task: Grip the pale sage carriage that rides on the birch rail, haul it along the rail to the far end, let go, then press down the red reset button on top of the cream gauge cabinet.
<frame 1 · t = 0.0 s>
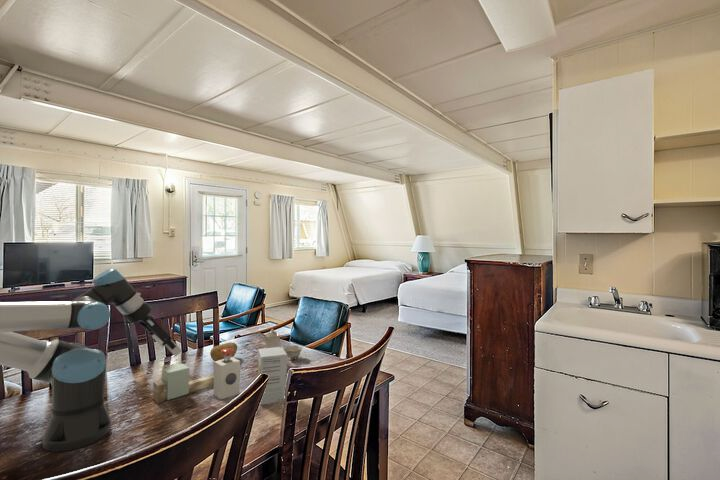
hand: (172, 349, 128), 15 cm above the table, tool tilted 35°, fingers open, 13 cm apart
carriage: (175, 381, 124), point 5 cm above the table, slide at 0.0 cm
supplement box: (271, 398, 124), on the table
potato: (224, 361, 159), on the table
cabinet: (226, 393, 126), on the table
chinaware: (277, 365, 156), on the table
rail: (193, 389, 129), on the table
reset button: (227, 355, 126), point 14 cm above the table, slide at 0.0 cm
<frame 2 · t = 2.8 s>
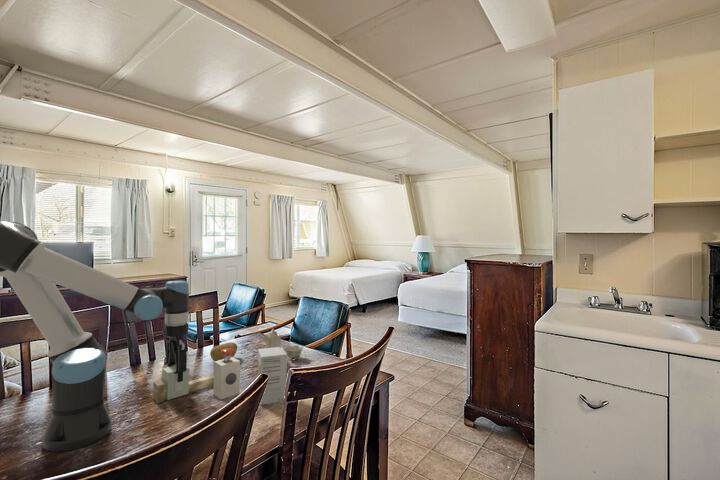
hand: (175, 386, 124), 3 cm above the table, tool pointing down, fingers closed on carriage, 6 cm apart
carriage: (175, 381, 124), point 5 cm above the table, slide at 0.0 cm, touching gripper
everything else where it was.
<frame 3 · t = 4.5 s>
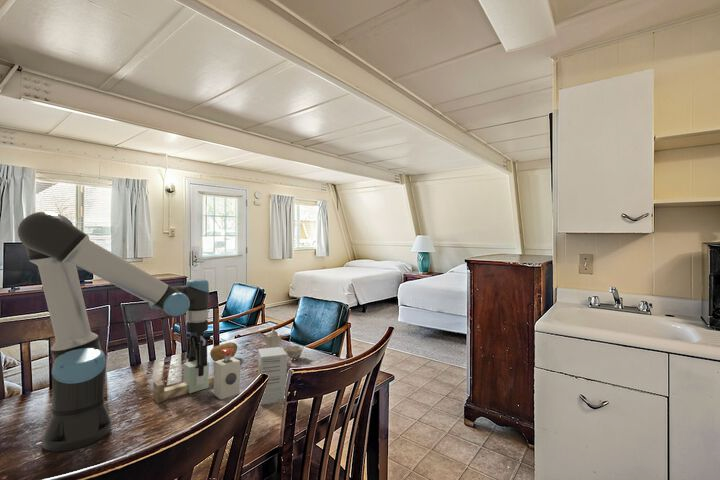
hand: (195, 381, 129), 3 cm above the table, tool pointing down, fingers closed on carriage, 6 cm apart
carriage: (196, 375, 129), point 5 cm above the table, slide at 7.2 cm, touching gripper
everything else where it was.
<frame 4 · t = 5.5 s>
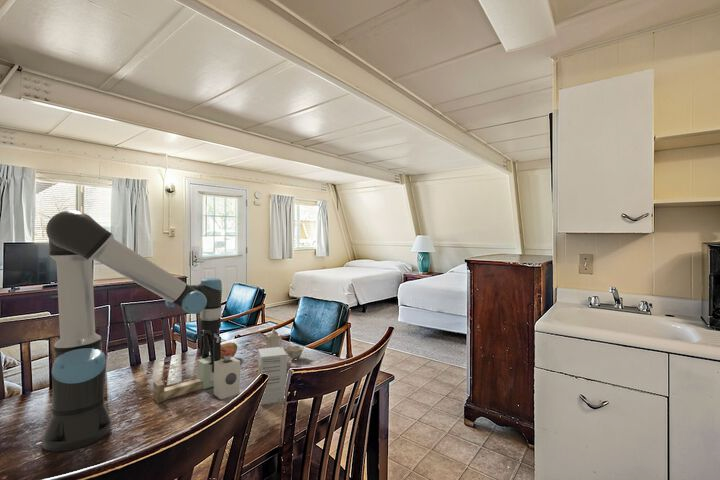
hand: (209, 377, 133), 3 cm above the table, tool pointing down, fingers closed on carriage, 6 cm apart
carriage: (209, 371, 133), point 5 cm above the table, slide at 12.3 cm, touching gripper
everything else where it was.
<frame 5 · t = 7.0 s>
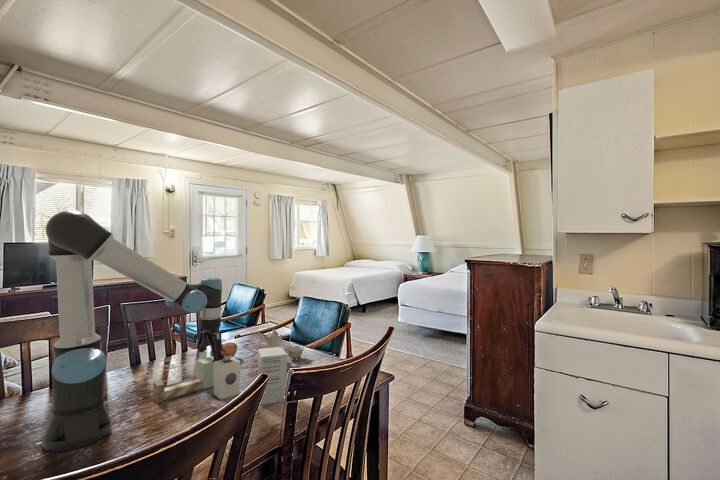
hand: (209, 372, 134), 5 cm above the table, tool pointing down, fingers open, 12 cm apart
carriage: (209, 371, 133), point 5 cm above the table, slide at 12.2 cm
everything else where it was.
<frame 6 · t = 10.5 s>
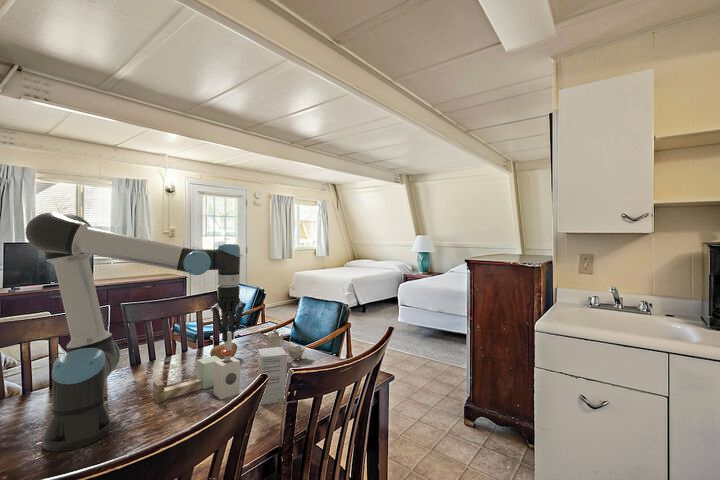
hand: (227, 349, 126), 16 cm above the table, tool pointing down, fingers closed
reset button: (227, 356, 126), point 14 cm above the table, slide at 0.2 cm, touching gripper
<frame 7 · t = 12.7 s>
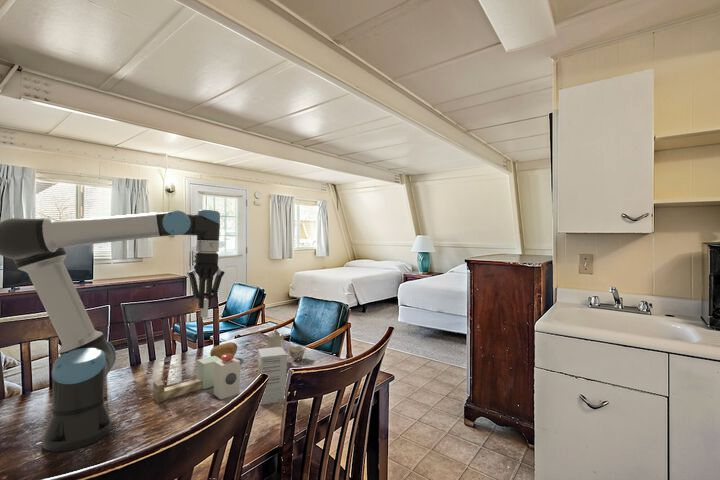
hand: (204, 316, 124), 28 cm above the table, tool pointing down, fingers closed
reset button: (227, 361, 126), point 12 cm above the table, slide at 2.0 cm
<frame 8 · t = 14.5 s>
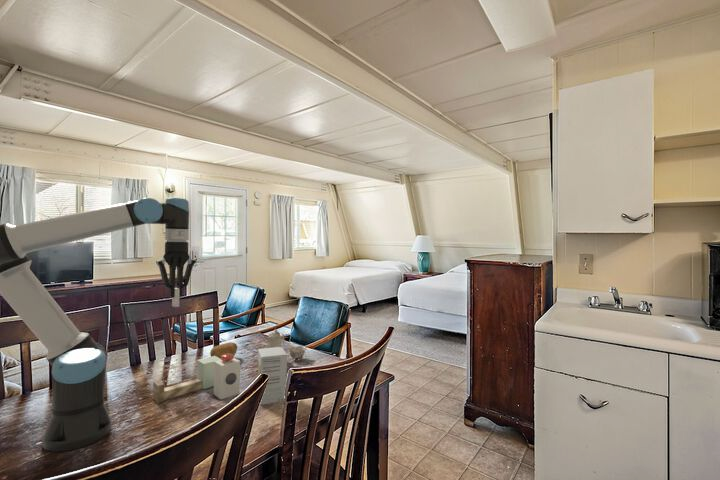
hand: (175, 306, 124), 32 cm above the table, tool pointing down, fingers closed
at the end: carriage slide at 12.2 cm; reset button slide at 2.0 cm; the gripper is holding nothing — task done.
